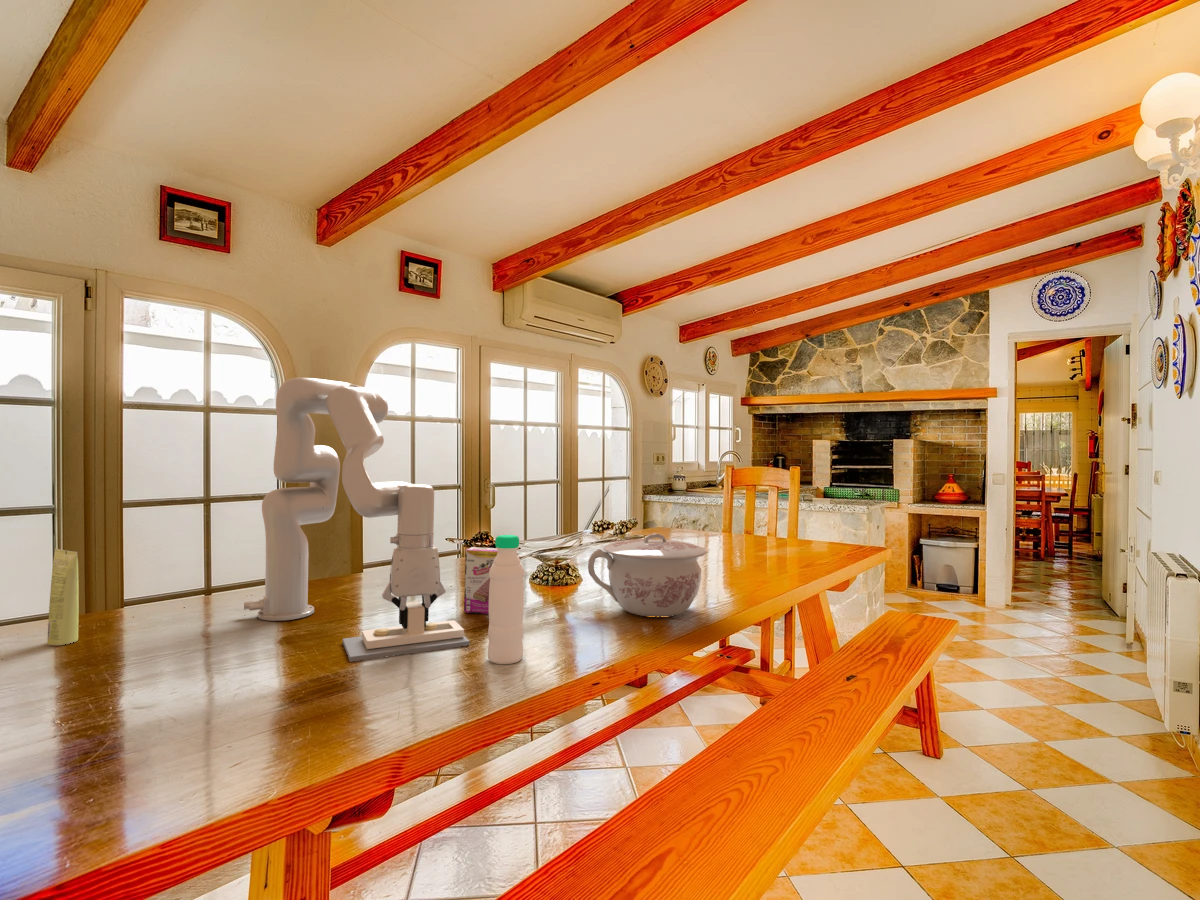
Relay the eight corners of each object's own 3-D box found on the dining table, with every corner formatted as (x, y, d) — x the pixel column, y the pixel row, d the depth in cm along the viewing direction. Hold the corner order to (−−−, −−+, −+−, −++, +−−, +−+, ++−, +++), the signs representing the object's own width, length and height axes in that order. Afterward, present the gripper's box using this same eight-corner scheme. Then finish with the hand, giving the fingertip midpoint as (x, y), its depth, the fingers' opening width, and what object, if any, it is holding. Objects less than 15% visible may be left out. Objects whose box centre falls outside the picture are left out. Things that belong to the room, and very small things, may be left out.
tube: (86, 637, 134) (87, 547, 134) (75, 645, 129) (77, 551, 129) (53, 640, 132) (55, 548, 132) (41, 647, 127) (43, 552, 127)
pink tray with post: (367, 649, 126) (367, 614, 126) (361, 638, 133) (362, 605, 133) (464, 636, 136) (464, 605, 136) (454, 627, 143) (455, 596, 143)
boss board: (350, 662, 122) (350, 643, 122) (342, 643, 134) (342, 626, 134) (469, 645, 134) (469, 628, 134) (453, 629, 145) (453, 614, 145)
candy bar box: (463, 613, 159) (464, 549, 159) (469, 608, 164) (470, 546, 164) (506, 615, 158) (507, 551, 158) (510, 610, 163) (511, 548, 163)
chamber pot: (721, 608, 169) (723, 532, 169) (678, 632, 146) (680, 544, 146) (632, 593, 184) (633, 524, 184) (580, 613, 161) (581, 534, 161)
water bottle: (528, 656, 128) (530, 534, 128) (512, 667, 121) (515, 539, 121) (498, 651, 130) (500, 532, 130) (481, 662, 123) (483, 536, 123)
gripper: (378, 546, 127) (376, 635, 127) (457, 541, 135) (455, 626, 135) (372, 540, 134) (371, 625, 134) (448, 537, 142) (447, 617, 142)
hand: (413, 625), depth 135 cm, fingers closed on pink tray with post, 3 cm apart
